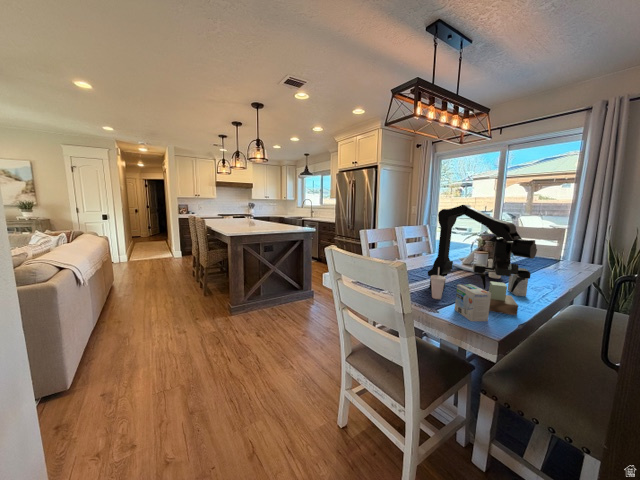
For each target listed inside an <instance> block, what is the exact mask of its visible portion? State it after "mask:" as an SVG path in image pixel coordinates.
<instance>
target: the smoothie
mask: <svg viewBox="0 0 640 480" xmlns="http://www.w3.org/2000/svg"><path fill="white" fill-rule="evenodd" d="M439 270H440V267H438V275H432V276H431V278H430V279H431V286H432V289H431V298H433V299H435V300H441V299H442V297H443V291H444V290H443V287H444V283H445V284H446V281H447V278H446V276H444V277H443V276H439Z"/></svg>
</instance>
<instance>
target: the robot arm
mask: <svg viewBox="0 0 640 480" xmlns="http://www.w3.org/2000/svg"><path fill="white" fill-rule="evenodd" d="M437 216H438V217H437V218H438V223H439V226H440V231H439V232H440V234H439V241H438V249H437V256H436V258H435V260H434V261H433V266H432V268H431V269H429V270H428V271H427V276H428V277H430V278H431V276H432V275H438V267H440V270H439V276H443V277H447V276H448V274H449V273H451V271H452V270H453V264H454V261H453V260H451V259H450V247H451V240H452V232H453V227H454V226H455V224H456V222H457V218H459V217H462V216H466V217H468V218H470V219H471V220H473V221H475V222H476V223H479V224H481V225H483V226H485V227H486V228H487V229H488V230H489V232H491V233H492V234H493V235H494V236H492V238H489V239H488V241H489V242H491V243H493V242H494V246H493V247H494V249H493V257H492V259H493V262H492V267H488V266H485V263H484V264H482V263H474V264H473V265H472V272H473V273H475V274H476V275H477V276H479V277H480V281H481V282H482V287H483V290H486V286H487V285H486V281H487V280H486V276H487V274H486V273H485V272H487V273H489V272H496V275H499V276H501V277H502V276H504V277H508V278H509V276H511V274H515V275H513V278H512V283H511V288H510V291H509V293H510V294H513V293H512V292H513V291H514V289H515V287H516V286H517V284H518V283H519V282H520V281H522V280H525V278H527V279H528V280H529V279H531V272H530V271H529V270H528V269H527V268H525V267H519V264H518V263H511V260H512V259H511V258H512V256H511V255H513V256H514V257H520V258H526V259H534V258H535V257H536V256H537V252H538V248H537V244H536V240H534V239H523V238H522V237H521V236H520V234H519V232H518V231H517V226H516V225H515V224H514V223H513V222H509V221H506V220H501V219H498V218H494V217H492V216H490V215H489V214H487V213H484V212H483V211H480V210H479V209H476V208H474V207H473V206H471V205H470V204H461V205H459V206H458V205H457V206H454V207H451V208H442V209H441V210H439V211H438V214H437ZM445 288H446V282H445V283H444V287H443V291H444V289H445ZM428 289H431V290H432V286H431V279H430V280H429V288H428Z"/></svg>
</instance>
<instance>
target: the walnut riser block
mask: <svg viewBox="0 0 640 480" xmlns="http://www.w3.org/2000/svg"><path fill="white" fill-rule="evenodd" d="M518 310H519V305H518V303H517V302H516V300H515V299H514V298H513V296H512V295H509V294H506V298H505V301H502V300H495V299H490V307H489V312H493V313H498V314H505V315H511V316H518V312H519V311H518Z"/></svg>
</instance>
